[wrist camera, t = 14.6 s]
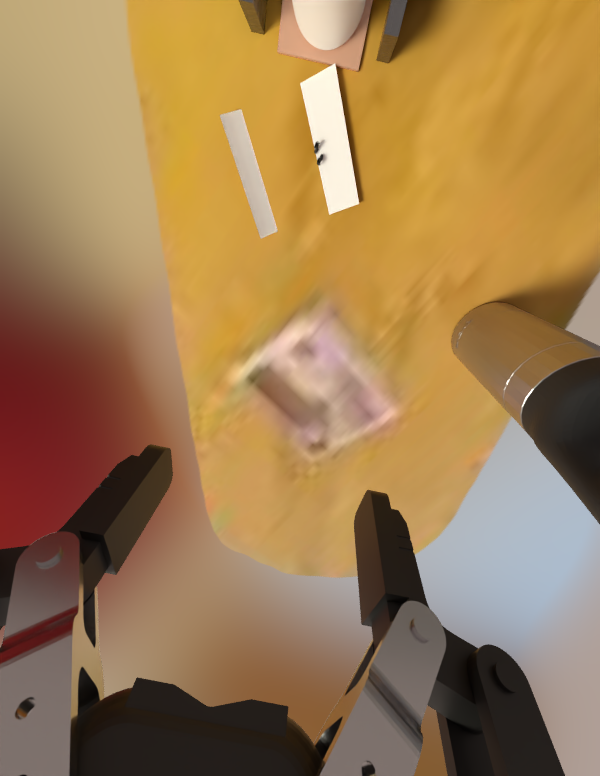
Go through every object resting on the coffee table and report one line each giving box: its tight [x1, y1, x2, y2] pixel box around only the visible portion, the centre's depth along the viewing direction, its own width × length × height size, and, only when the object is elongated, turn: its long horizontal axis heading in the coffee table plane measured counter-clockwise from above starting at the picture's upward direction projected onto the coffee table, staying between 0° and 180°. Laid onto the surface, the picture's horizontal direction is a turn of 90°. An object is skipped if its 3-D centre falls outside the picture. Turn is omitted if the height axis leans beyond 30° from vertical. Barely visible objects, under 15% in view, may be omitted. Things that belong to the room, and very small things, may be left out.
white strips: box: [220, 64, 359, 238], centre depth 31 cm, size 12×12×2 cm
